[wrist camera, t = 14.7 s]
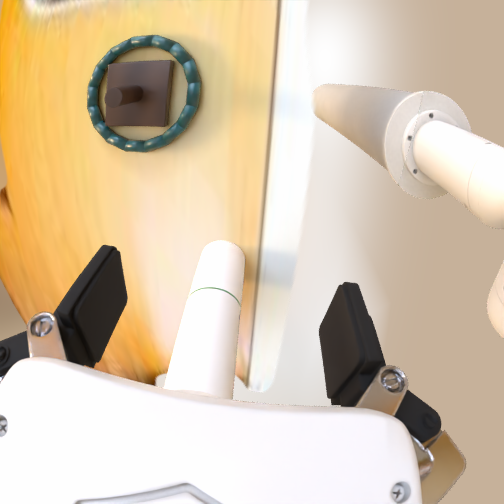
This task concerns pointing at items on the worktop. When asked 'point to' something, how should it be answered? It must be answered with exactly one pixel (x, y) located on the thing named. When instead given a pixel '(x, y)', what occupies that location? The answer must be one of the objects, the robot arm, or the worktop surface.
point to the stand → (139, 93)
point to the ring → (184, 117)
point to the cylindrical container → (210, 325)
